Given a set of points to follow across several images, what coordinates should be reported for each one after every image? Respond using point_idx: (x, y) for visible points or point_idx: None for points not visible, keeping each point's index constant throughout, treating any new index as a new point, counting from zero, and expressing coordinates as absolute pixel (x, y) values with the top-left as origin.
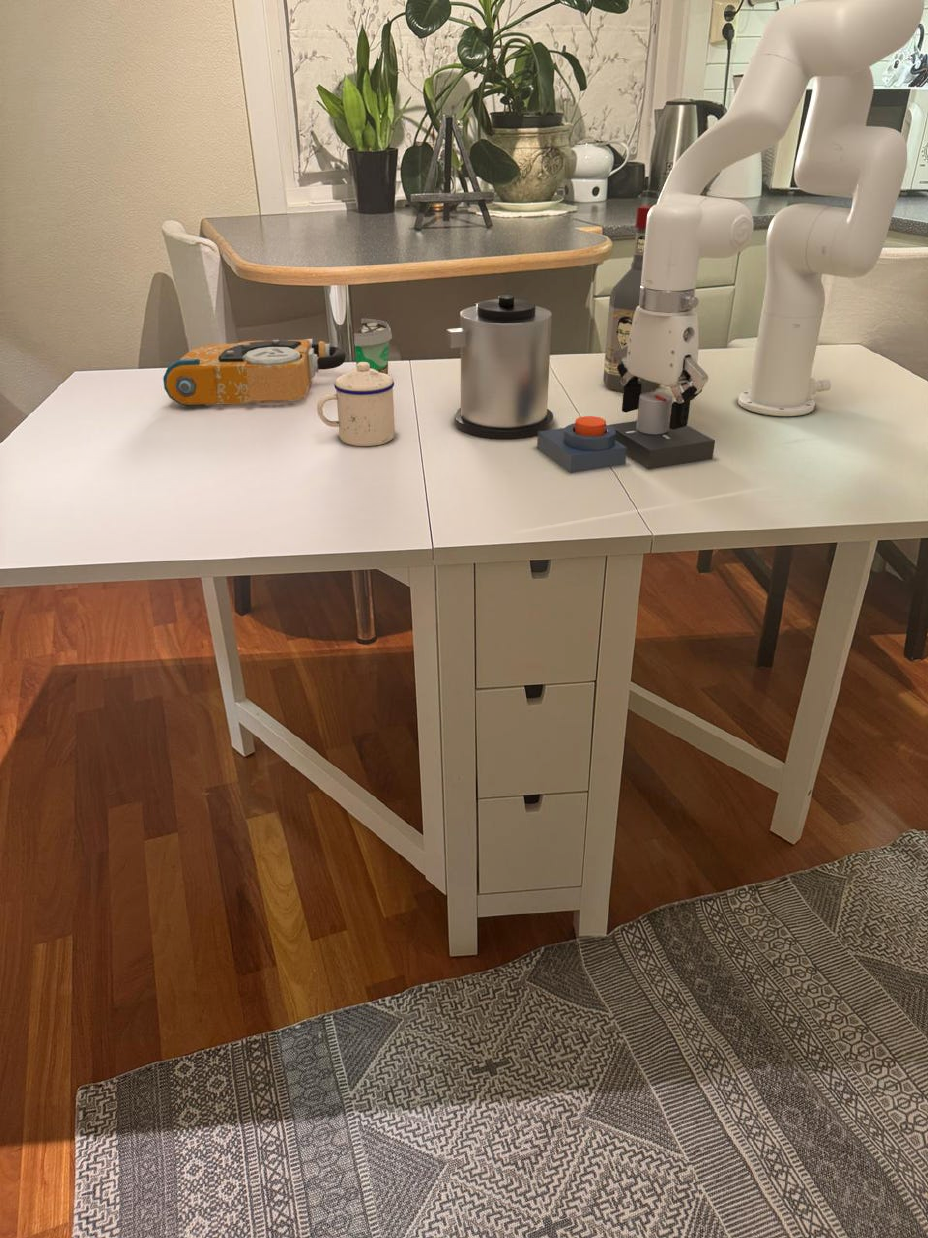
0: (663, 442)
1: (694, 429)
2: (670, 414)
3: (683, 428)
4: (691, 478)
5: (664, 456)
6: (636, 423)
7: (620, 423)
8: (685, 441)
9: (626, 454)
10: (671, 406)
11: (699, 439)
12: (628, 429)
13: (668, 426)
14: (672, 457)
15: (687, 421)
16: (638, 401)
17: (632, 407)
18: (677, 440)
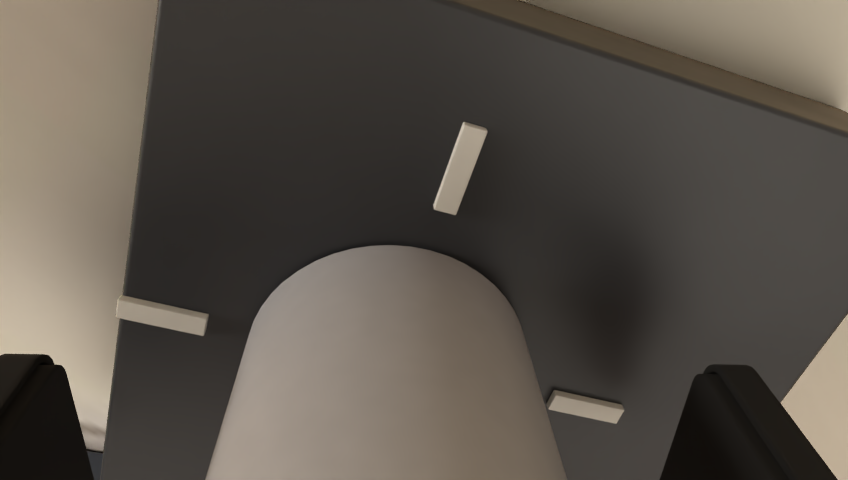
0: (625, 472)
1: (661, 78)
2: (542, 412)
3: (560, 141)
4: (839, 412)
5: None
6: (186, 353)
7: (118, 438)
8: (745, 362)
9: None
10: (558, 477)
11: (823, 255)
12: None
13: (527, 349)
14: None
15: (764, 385)
16: (26, 440)
17: (68, 461)
18: (683, 386)
